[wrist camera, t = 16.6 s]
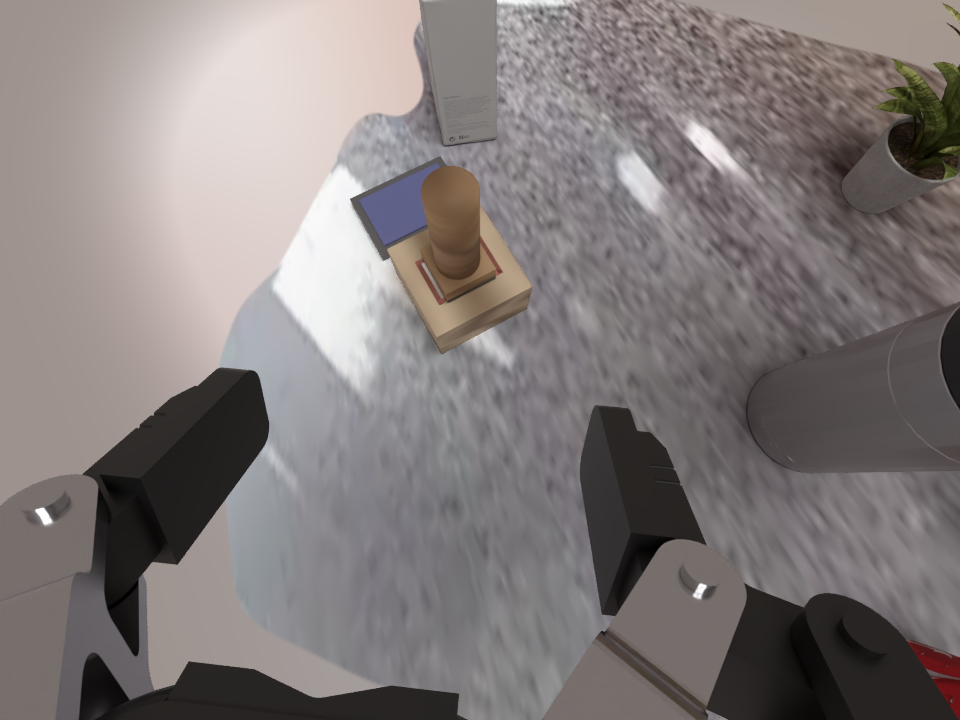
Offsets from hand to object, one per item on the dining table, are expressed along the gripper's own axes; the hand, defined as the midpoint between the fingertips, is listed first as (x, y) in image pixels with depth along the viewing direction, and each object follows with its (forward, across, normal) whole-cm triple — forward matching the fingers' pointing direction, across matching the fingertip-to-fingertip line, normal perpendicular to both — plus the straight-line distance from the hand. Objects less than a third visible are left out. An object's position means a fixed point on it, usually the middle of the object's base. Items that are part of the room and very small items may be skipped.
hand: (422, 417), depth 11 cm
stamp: (+27, +2, +6) cm, 28 cm away
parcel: (+31, +2, +9) cm, 33 cm away
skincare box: (+46, +4, -5) cm, 46 cm away
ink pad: (+37, +8, +4) cm, 38 cm away
